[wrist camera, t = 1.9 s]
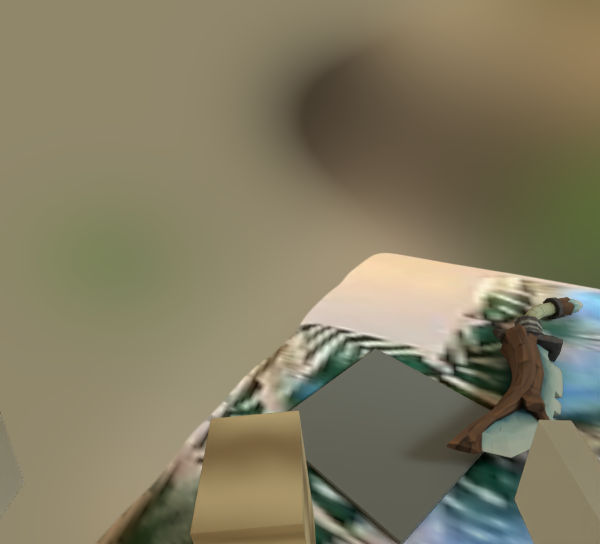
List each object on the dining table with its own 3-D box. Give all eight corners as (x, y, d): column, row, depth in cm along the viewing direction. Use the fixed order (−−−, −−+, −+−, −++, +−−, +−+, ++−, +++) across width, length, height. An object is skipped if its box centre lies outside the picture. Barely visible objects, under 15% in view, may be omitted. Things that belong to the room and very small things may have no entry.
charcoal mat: (375, 351, 55) (375, 348, 54) (508, 424, 44) (508, 420, 43) (268, 430, 46) (268, 426, 46) (400, 545, 35) (400, 541, 35)
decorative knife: (576, 319, 58) (552, 515, 36) (504, 296, 62) (441, 462, 39) (590, 289, 56) (573, 480, 34) (514, 267, 60) (453, 426, 37)
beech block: (320, 636, 30) (302, 523, 25) (229, 643, 30) (189, 533, 25) (314, 519, 37) (298, 410, 32) (239, 526, 38) (211, 418, 32)
